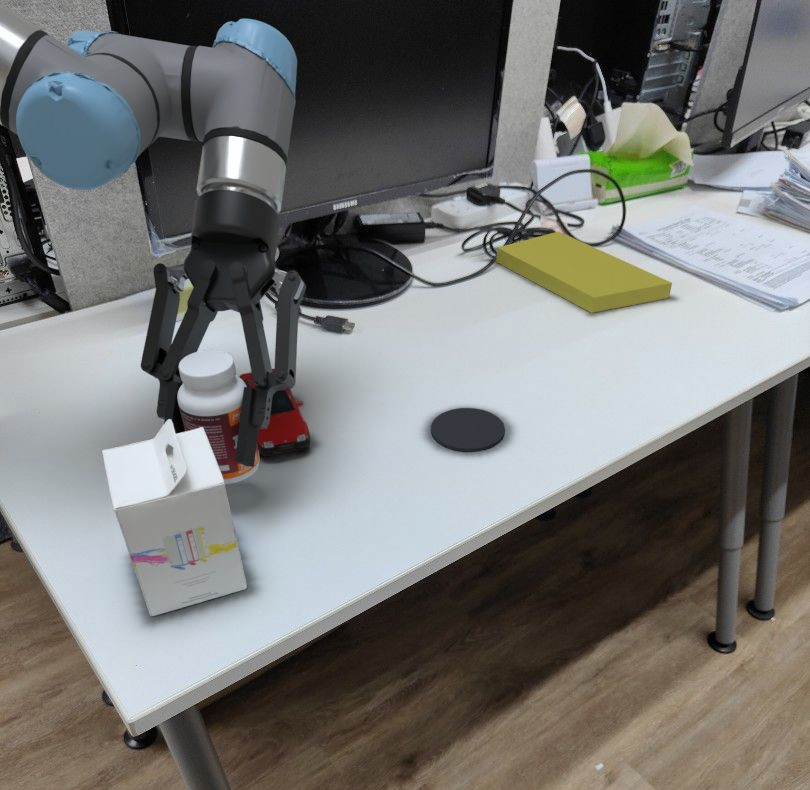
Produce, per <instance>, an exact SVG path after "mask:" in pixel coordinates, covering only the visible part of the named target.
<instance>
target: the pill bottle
mask: <svg viewBox="0 0 810 790" xmlns="http://www.w3.org/2000/svg"><path fill="white" fill-rule="evenodd" d="M235 364H236V363H235V359H234V357H233V356H232V354H230V353H228V352H226V351H223V350H219V349H205V350H200V351H197V352H195V353H192V354H190V355H188V356H186V357H184V358H183V359H182V360H181V361H180V363H179V372H180V377H181V380H182V382H183V384H182V385H181V387H180V388H179V391H178V394H177V399H178V405H179V409H180V413H181V417H182V421H183V425H184V429H185V431H189V430H193V429H197V428H200V427H203V428H204V430H205V433H206V435H207V438H208V440H209V443H210V445H211V448H212V451H213V453H214V456H215V458H216V461H217V463H218V466H219V469H220V471H221V474H222V476H223V479H224V482H225V485H232V484H236V483H240V482H242V481H245V480H246V479H248V478H250V477H251V476H252V475H253V474H254V473H255V472H257V470H258V468H259V466H260V461H261V458H260V454H259V451H258V445H256V454H255V462H254V467H251V466H245V465H243V464H240V463H238V462H236V461H235V458H236V449H237V441H238V433H239V425H240V417H241V408H242V400H243V392H244V387H247V386H246V384H245V383H244V381H243V380H242V379H241V378H239V376H238V375H237V368H236V365H235Z"/></svg>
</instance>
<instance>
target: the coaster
mask: <svg viewBox="0 0 810 790" xmlns="http://www.w3.org/2000/svg"><path fill="white" fill-rule="evenodd" d="M430 433H431V436H432V438H433V440H435V442H436V443H438V444H439V445H441V446H443V447H444V448H447V449H450V450H453V451H458V452H471V453H472V452H480V451H486V450H488V449H491V448H493V447H495V446H497V445H498V444H499V443H500V442H501V441H502V440H503V439H504V436H505V433H506V426H505V424H504V421H503V420H502V419H501V418H500V417H498V416H497V415H496V414H494V413H492V412H490V411H487V410H484V409H481V408H475V407H460V408H453V409H449V410H446V411H445V412H442V413H440V414H439V415H437V416H436V417H435V418H434V419H433V420H432V422H431V425H430Z"/></svg>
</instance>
